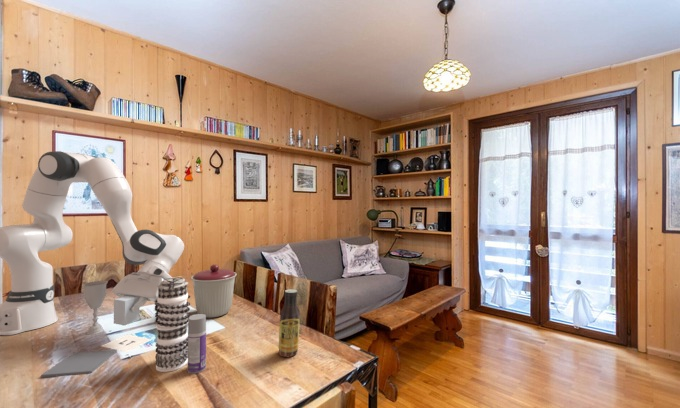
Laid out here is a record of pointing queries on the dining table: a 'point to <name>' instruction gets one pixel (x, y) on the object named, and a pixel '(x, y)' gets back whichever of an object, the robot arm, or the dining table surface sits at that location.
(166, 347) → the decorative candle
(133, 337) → the card
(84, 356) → the slate coaster
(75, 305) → the dining table surface
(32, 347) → the dining table surface
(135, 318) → the grey blue block
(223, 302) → the canister
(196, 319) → the container
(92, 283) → the chalice
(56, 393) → the dining table surface
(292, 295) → the sauce bottle
